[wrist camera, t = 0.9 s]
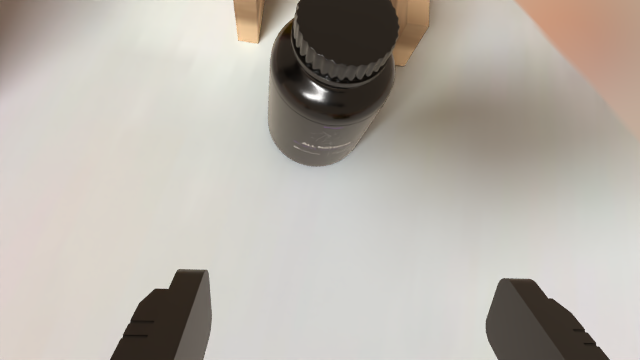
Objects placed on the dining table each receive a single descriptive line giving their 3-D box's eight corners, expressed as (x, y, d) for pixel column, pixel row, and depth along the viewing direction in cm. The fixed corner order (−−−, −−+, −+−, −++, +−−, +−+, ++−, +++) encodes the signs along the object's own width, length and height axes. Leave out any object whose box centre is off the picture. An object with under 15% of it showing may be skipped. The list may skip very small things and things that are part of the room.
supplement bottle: (307, 188, 28) (335, 118, 16) (249, 114, 29) (236, -1, 17) (379, 134, 29) (450, 36, 18) (322, 66, 30) (355, -68, 19)
